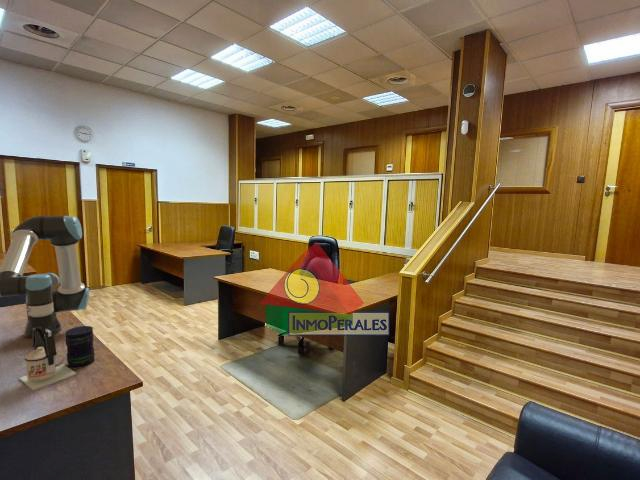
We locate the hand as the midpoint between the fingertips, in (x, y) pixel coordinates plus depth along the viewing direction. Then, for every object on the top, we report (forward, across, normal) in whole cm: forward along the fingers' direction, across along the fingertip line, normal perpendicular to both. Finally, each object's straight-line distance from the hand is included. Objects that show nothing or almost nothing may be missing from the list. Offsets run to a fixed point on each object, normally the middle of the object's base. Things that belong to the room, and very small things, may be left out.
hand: (45, 368), depth 130 cm
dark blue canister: (+5, -3, +14) cm, 15 cm away
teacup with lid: (+3, +1, 0) cm, 3 cm away
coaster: (+4, -1, +1) cm, 5 cm away
